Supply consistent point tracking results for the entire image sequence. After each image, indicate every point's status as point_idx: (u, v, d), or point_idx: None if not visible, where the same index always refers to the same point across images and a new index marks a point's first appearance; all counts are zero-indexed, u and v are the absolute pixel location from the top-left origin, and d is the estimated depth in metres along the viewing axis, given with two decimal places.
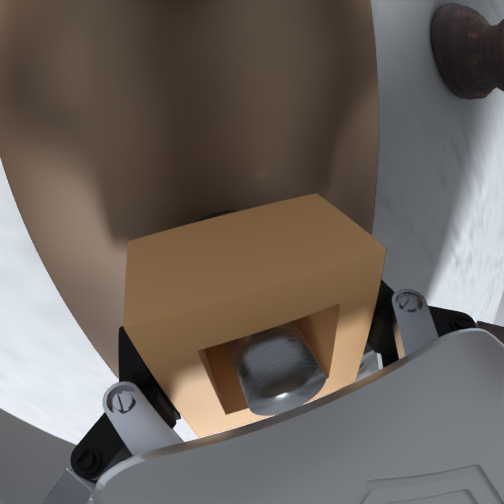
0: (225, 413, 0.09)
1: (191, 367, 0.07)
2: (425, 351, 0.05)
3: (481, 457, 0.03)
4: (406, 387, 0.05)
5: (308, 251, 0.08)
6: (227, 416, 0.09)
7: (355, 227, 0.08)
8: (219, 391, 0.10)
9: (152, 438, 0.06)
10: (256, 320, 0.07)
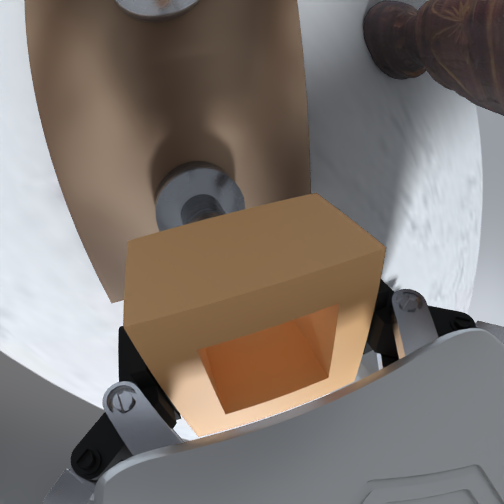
0: (225, 413, 0.09)
1: (191, 366, 0.07)
2: (425, 351, 0.05)
3: (481, 457, 0.03)
4: (406, 387, 0.05)
5: (308, 250, 0.08)
6: (227, 416, 0.09)
7: (354, 226, 0.08)
8: (219, 391, 0.10)
9: (152, 438, 0.06)
10: (256, 320, 0.07)
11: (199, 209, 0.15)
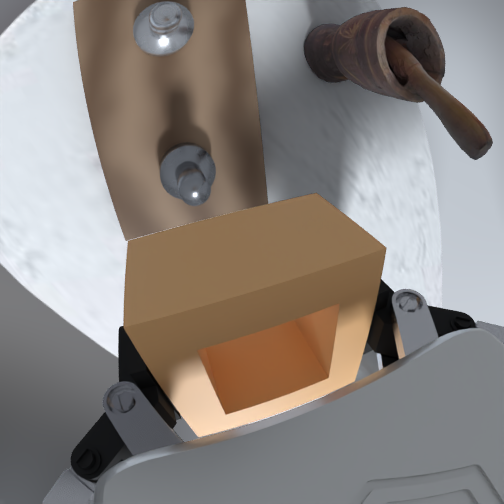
0: (225, 413, 0.09)
1: (191, 367, 0.07)
2: (425, 351, 0.05)
3: (481, 457, 0.03)
4: (406, 387, 0.05)
5: (308, 251, 0.08)
6: (227, 416, 0.09)
7: (354, 226, 0.08)
8: (219, 391, 0.10)
9: (152, 438, 0.06)
10: (256, 320, 0.07)
11: (185, 167, 0.24)
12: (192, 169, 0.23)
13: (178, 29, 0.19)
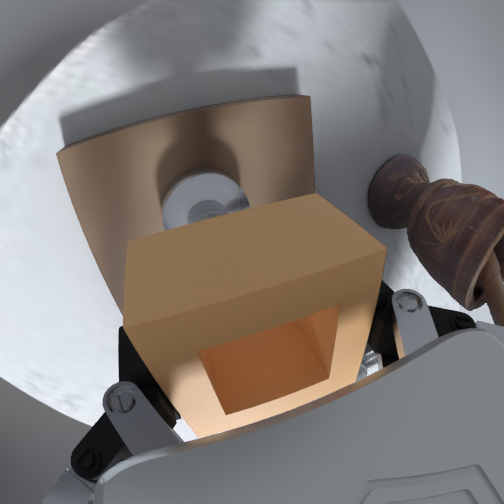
0: (225, 413, 0.09)
1: (191, 367, 0.07)
2: (425, 351, 0.05)
3: (481, 457, 0.03)
4: (406, 387, 0.05)
5: (308, 251, 0.08)
6: (227, 416, 0.09)
7: (355, 226, 0.08)
8: (219, 391, 0.10)
9: (152, 438, 0.06)
10: (256, 321, 0.07)
11: None
12: None
13: None
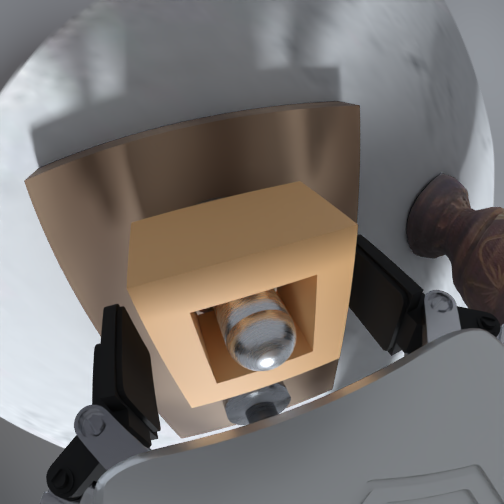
0: (216, 382, 0.11)
1: (184, 330, 0.09)
2: (425, 351, 0.05)
3: (481, 457, 0.03)
4: (406, 387, 0.05)
5: (287, 227, 0.09)
6: (218, 385, 0.11)
7: (331, 207, 0.10)
8: (211, 362, 0.11)
9: (128, 457, 0.05)
10: (241, 286, 0.08)
11: None
12: None
13: None
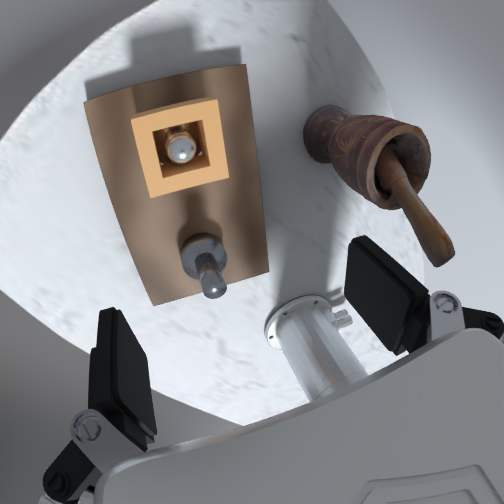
0: (162, 177, 0.23)
1: (149, 140, 0.21)
2: (425, 351, 0.05)
3: (481, 457, 0.03)
4: (406, 386, 0.05)
5: (191, 103, 0.21)
6: (163, 180, 0.23)
7: (212, 98, 0.22)
8: (162, 174, 0.24)
9: None
10: (171, 121, 0.20)
11: (204, 262, 0.31)
12: (210, 267, 0.30)
13: None
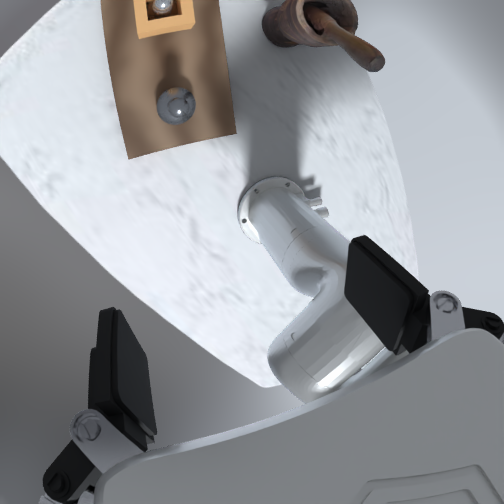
0: None
1: None
2: (425, 351, 0.05)
3: (481, 457, 0.03)
4: (406, 387, 0.05)
5: None
6: (148, 22, 0.24)
7: None
8: None
9: None
10: None
11: (174, 98, 0.32)
12: None
13: (171, 12, 0.27)
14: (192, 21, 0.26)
